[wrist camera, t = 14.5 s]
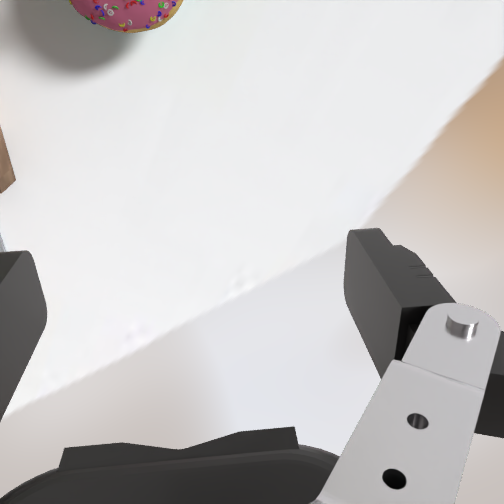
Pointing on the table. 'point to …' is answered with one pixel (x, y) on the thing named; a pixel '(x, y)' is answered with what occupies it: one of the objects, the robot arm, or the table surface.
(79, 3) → the cupcake
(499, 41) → the table surface
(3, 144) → the frame
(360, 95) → the table surface
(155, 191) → the table surface
